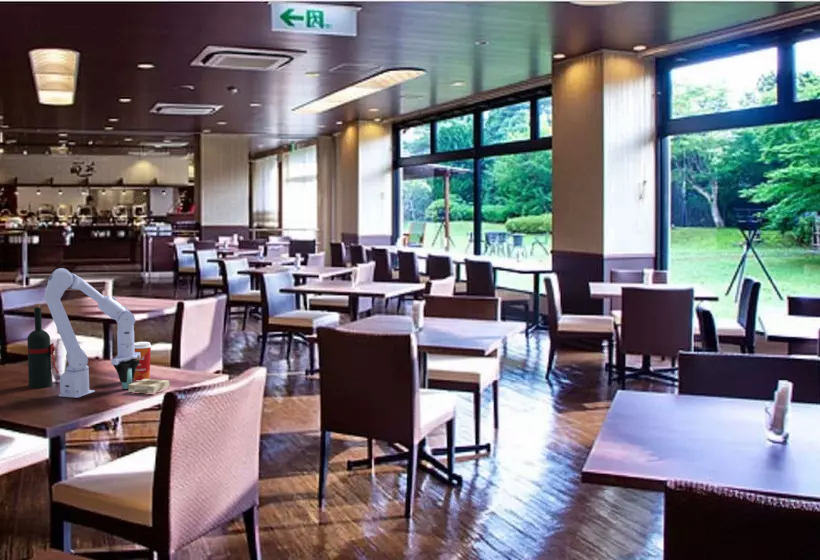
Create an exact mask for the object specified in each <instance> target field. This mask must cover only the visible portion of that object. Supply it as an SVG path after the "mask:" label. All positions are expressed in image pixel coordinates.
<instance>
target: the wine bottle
mask: <svg viewBox="0 0 820 560" xmlns="http://www.w3.org/2000/svg"><path fill="white" fill-rule="evenodd" d="M33 310H34V312H33V313H34V330H32V331H31V332H30V333H29V334H28V336H27V338H26V339H27V371H28V374H27V375H28V388H29V387H30V388H29V389H47V388H49V387H52V386H53V378H52V377H53V375H52V363H53V368H54V370H55V372H56V373H57V374H59V370H58V369H57V367H56V361H55V356H54V354H55V349H56V348H55V345H54V342H53V343H52V342H51V337H50V334H49V333H48V332H47V331H45V330H44V329H42V328H43V327H42V325H43V323H42V307H41V303H35V304H34V309H33Z"/></svg>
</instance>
